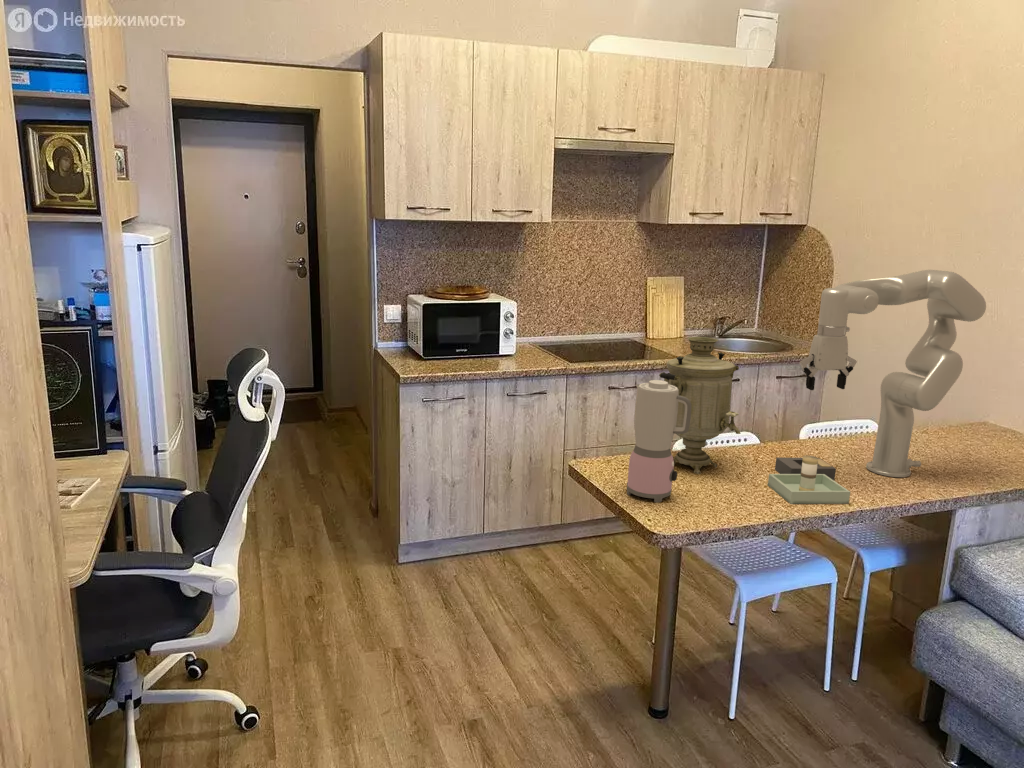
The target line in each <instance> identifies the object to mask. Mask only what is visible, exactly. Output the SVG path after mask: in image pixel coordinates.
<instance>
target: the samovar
mask: <svg viewBox="0 0 1024 768" xmlns="http://www.w3.org/2000/svg"><path fill="white" fill-rule="evenodd" d="M686 340H688V341H689V342H690V345H689V348H690V350H691V353H688V354H686V355H684V356H681V355H680V356H677V357H675V358H672V359H668V360H667V361H666V367H667V370H668V372H667V373H666V372H664V371H663V372H660V373H659V375H658V376H659V377H660V378H661V379H663V381H666V382H668V384H669V385H673V386H675V387H677V388H678V390H679V393H678V395H679V396H683V397H686V398H687V399H689V400H690V402H691V419H690V426H689V430H688V432H687V433H684V434H675V435H676V436H678V437H680V438H682V445H683V446H685V448H683V449H681V450H680V451H677V452H676V454H675V456H674V457H673V460H674V464H676V463H679V464H680V465H681V464H683V465H685V466H690V467H691V468H692V469H693V470H694V471H693V473H694V474H696V475H700V474H701V473H702V472H701V468H702V467H703V466H705V467H707V466H708V465H711V466H714V467H715V468H717V467H718V464H717V462H714V461H713V460H712V459H711V456H710V455H709V454H708V453H707V452H705V451H704V450H703V448H706V445H707V440H712V439H714V438H717V437H718V436H719V435H720V434H723V433H724V432H725V430H726V429H728V428H729V430H730V431H732V432H735V434H736V435H740V434H741V431H740V429H739V427H737V426H736V424H735V420H734V419H735V418H736V417H737V416H739V415H740V414H739V412H736V411H731V402H732V401H731V400H732V387H733V378H734V373H735V372H736V371H739V370H740V367H739V365H735V363H732V362H730V361H728V360H724V359H723V357H724V356H725V353H723V352H721V351H720V352H717V354H718V357H717V356H715V355H714V354H712V352H713V351H714V346H715V344H716V343H717V342H718V341H719V339H717V338H713V337H703V336H692V337H691V336H689V337H687V339H686ZM684 413H685V405H684V404H683V403H681V402H678V411H677V421H676V427H680V428H681V427H683V422H684Z"/></svg>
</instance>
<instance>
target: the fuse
mask: <svg viewBox="0 0 1024 768" xmlns="http://www.w3.org/2000/svg"><path fill="white" fill-rule="evenodd" d="M802 458H803V460H802V469H801V477H800V485H799V491H814V489H815V480H816V472H817V464H818V458H819V457H816V456H813V455H807V454H806V455H803V456H802Z"/></svg>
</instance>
